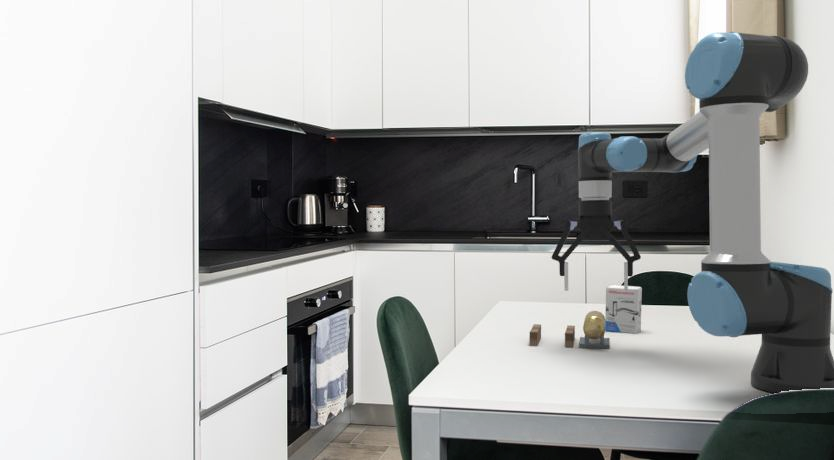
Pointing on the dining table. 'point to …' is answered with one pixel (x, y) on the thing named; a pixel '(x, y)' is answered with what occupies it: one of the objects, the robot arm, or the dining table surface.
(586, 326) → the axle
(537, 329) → the wooden rail pair
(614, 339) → the dining table surface
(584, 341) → the cradle
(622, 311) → the ink box
